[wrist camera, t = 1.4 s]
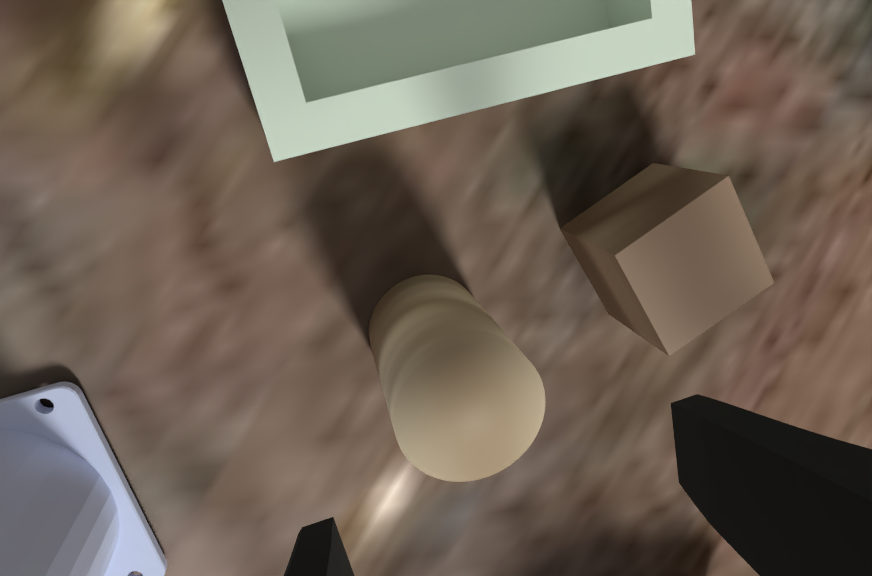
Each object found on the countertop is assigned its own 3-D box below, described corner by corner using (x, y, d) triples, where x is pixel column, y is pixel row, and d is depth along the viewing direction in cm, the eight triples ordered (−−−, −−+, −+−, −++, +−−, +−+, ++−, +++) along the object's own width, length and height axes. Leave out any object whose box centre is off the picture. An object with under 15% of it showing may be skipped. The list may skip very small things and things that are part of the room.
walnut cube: (607, 313, 22) (669, 356, 18) (558, 227, 21) (614, 255, 17) (694, 252, 22) (774, 282, 18) (651, 162, 21) (728, 176, 17)
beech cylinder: (385, 395, 21) (415, 501, 15) (355, 293, 20) (375, 369, 14) (490, 362, 22) (555, 453, 16) (468, 260, 20) (531, 321, 15)
